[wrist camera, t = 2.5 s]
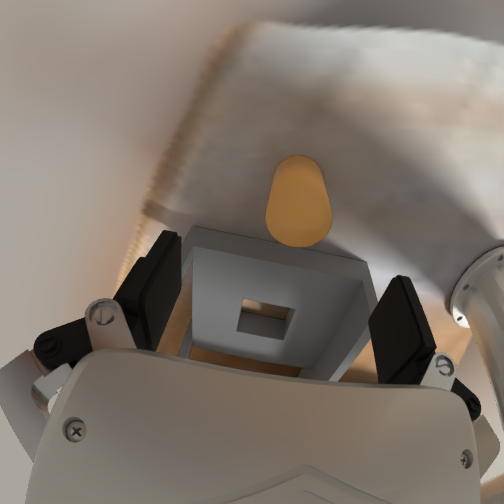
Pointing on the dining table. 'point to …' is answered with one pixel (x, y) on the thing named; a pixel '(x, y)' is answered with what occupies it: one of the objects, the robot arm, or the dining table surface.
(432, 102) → the dining table surface
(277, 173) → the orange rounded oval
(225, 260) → the housing
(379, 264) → the dining table surface
